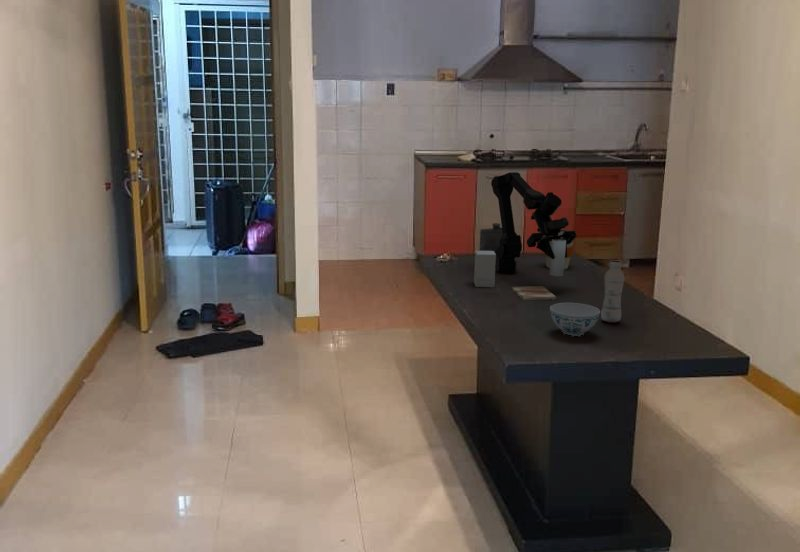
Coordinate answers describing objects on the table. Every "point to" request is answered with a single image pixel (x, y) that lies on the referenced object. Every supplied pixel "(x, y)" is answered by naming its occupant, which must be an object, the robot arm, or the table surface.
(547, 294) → the beige flat rectangular panel
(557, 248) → the grey flared tumbler
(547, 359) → the table surface
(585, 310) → the chinaware
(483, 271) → the supplement box
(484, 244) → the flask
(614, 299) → the plastic bottle
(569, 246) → the reusable coffee cup
